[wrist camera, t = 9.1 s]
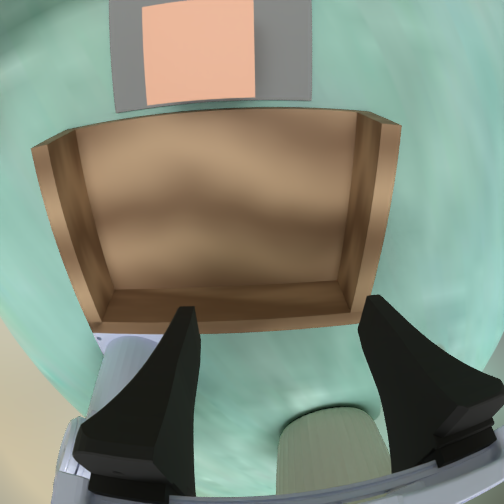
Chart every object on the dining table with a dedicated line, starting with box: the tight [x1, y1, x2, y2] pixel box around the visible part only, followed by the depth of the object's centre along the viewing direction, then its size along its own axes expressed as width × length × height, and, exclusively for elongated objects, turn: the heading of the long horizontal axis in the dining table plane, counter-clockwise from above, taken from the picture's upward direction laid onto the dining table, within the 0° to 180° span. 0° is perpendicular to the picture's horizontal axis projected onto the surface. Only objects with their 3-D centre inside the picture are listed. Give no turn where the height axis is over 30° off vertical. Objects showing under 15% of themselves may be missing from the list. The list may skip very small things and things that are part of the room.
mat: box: [109, 0, 312, 113], centre depth 15 cm, size 10×12×1 cm
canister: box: [276, 407, 392, 504], centre depth 31 cm, size 18×18×21 cm
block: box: [142, 0, 255, 106], centre depth 13 cm, size 4×4×6 cm
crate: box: [31, 107, 402, 334], centre depth 20 cm, size 14×20×4 cm
